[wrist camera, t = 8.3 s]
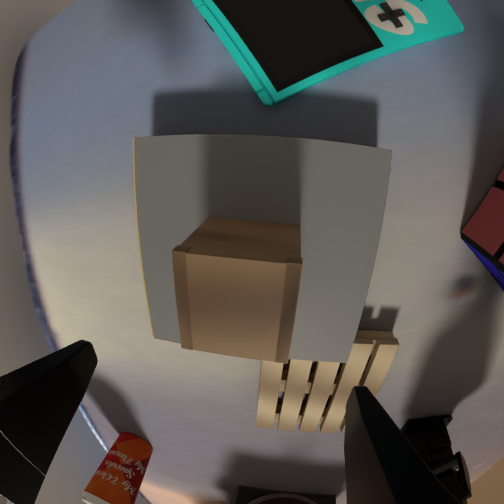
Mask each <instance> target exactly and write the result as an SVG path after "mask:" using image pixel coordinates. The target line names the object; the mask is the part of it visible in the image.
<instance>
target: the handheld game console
mask: <svg viewBox="0 0 504 504" xmlns="http://www.w3.org/2000/svg"><path fill="white" fill-rule="evenodd" d="M192 2H193V3H194V5H195V6H196V7H197V8H198V10H199V11H200V13H201V14H202V15H203V16H204V18H205V21H206V22H207V24H208V25H209V27H210V28H211V29H212V30H213V31H215V33H216V34H217V36H218V37H219V38H220V40H221V41H222V43H223V44H224V45H225V47H226V48H227V50H228V51H229V53H230V54H231V55H232V57H233V58H234V60H235V61H236V63H237V64H238V66H239V67H240V69H241V70H242V72H243V73H244V75H245V76H246V78H247V79H248V81H249V83H250V84H251V86H252V87H253V89H254V90H255V92H256V93H257V95H258V97H259V98H260V100H261V102H262V103H263V104H264V105H266V106H273V105H275V104H277V103H279V102H281V101H283V100H285V99H287V98H289V97H291V96H293V95H295V94H297V93H299V92H301V91H303V90H305V89H307V88H309V87H311V86H313V85H315V84H317V83H320V82H322V81H324V80H326V79H328V78H331V77H333V76H335V75H338V74H340V73H342V72H345V71H347V70H349V69H352V68H354V67H357V66H359V65H362V64H364V63H367V62H369V61H372V60H375V59H377V58H380V57H383V56H385V55H388V54H391V53H394V52H397V51H400V50H403V49H406V48H409V47H412V46H415V45H419V44H422V43H425V42H429V41H432V40H436V39H440V38H443V37H447V36H451V35H455V34H459V33H461V32H463V31H464V26H463V24H462V23H461V21H460V20H459V18H458V16H457V15H456V13H455V12H454V10H453V9H452V7H451V6H450V4H449V3H448V2H447V0H192Z"/></svg>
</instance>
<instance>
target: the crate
mask: <svg viewBox="0 0 504 504" xmlns="http://www.w3.org/2000/svg"><path fill="white" fill-rule="evenodd" d="M172 260H173V273H174V285H175V295H176V305H177V315H178V323H179V332H180V340H181V347H182V348H184V349H189V350H199V351H204V352H210V353H216V354H222V355H229V356H235V357H242V358H249V359H257V360H265V361H274V362H276V363H286V364H288V359H289V353H290V347H291V341H292V335H293V328H294V322H295V315H296V309H297V302H298V295H299V288H300V280H301V273H302V265H303V258H301V225H294V224H284V223H273V222H262V221H250V220H238V219H226V218H213V217H208V218H207V219H206V220H205V221H204V222H203V223H202V224H201V225H200V226H199V227H198V228H197V229H196V230H195V231H194V232H193V233H192V234H191V235H190V236H189V237H188V238H187V239H186V240H184V241H183V242H182V243H181V244H180V245H177V246H176V247H175V248H174V249H173V250H172Z"/></svg>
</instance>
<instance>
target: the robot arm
mask: <svg viewBox="0 0 504 504" xmlns="http://www.w3.org/2000/svg"><path fill="white" fill-rule="evenodd" d="M96 365H97V356H96V353H95V351H94V348H93V345H92V343H91V342H88V341H85V340H79V341H77V342H75V343H73V344H71V345H69V346H67V347H64V348H62V349H60V350H58V351H56V352H54V353H51V354H49V355H47V356H46V357H43V358H41V359H39V360H36V361H34V362H32V363H30V364H27V365H26V366H23V367H21V368H19V369H17V370H14V371H12V372H10V373H8V374H6V375H3V376H1V377H0V504H6V502H7V500H9V501H10V502H12V503H13V504H34V503H35V500H36V498H37V495H38V493H39V491H40V488H41V486H42V483H43V481H44V478H45V475H46V474H47V471H48V469H49V466H50V464H51V462H52V460H53V458H54V455H55V453H56V451H57V449H58V447H59V445H60V443H61V441H62V438H63V436H64V434H65V432H66V430H67V428H68V426H69V424H70V422H71V420H72V418H73V416H74V414H75V412H76V410H77V408H78V406H79V405H80V403H81V401H82V399H83V397H84V394H85V392H86V390H87V387H88V385H89V382H90V380H91V377H92V375H93V373H94V370H95V368H96ZM452 419H453V418H452V415H448V416H441V417H434V418H426V419H417V420H410V421H408V422H407V423H406V425H405V426H404V428H403V429H402V430H401V431H400V429H399V428H398V427H397V425H396V424H395V423H394V421H393V420H392V419H391V418H390V416H389V415H388V414H387V412H386V411H385V410H384V408H383V407H382V406H381V404H380V403H379V402H378V400H377V399H376V398H375V397H374V395H373V394H372V393H371V391H370V390H369V389H368V387H366V386H354V387H353V388H352V390H351V393H350V395H349V398H348V400H347V403H346V415H345V440H344V455H345V471H346V491H347V504H467V499H468V498H470V497H472V494H471V485H470V478H469V472H468V469H467V465H466V462H465V459H464V458H463V456H462V454H461V452H460V451H459V452H457V453H456V454H455V455H453V452H452V448H451V440H450V437H449V434H448V431H447V425H448V424H449V423H450V422H451V420H452ZM458 468H459V470H458V471H456V469H458Z"/></svg>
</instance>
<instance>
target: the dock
mask: <svg viewBox="0 0 504 504" xmlns="http://www.w3.org/2000/svg"><path fill="white" fill-rule="evenodd" d="M391 155H392V150H388V149H382V148H376V147H370V146H364V145H357V144H350V143H343V142H335V141H326V140H317V139H307V138H295V137H282V136H265V135H238V134H190V135H163V136H147V137H134V138H133V167H134V190H135V206H136V219H137V230H138V240H139V250H140V258H141V266H142V274H143V281H144V288H145V294H146V301H147V307H148V312H149V318H150V324H151V329H152V334H153V336H154V338H156V339H161V340H166V341H170V342H175V343H181V340H180V332H179V323H178V315H177V305H176V295H175V285H174V273H173V260H172V250H173V249H174V248H175V247H176V246H177V245H180V244H181V243H182V242H183V241H184V240H186V239H187V238H188V237H189V236H190V235H191V234H192V233H193V232H194V231H195V230H196V229H197V228H198V227H199V226H200V225H201V224H202V223H203V222H204V221H205V220H206V219H207V218H208V217H213V218H226V219H238V220H250V221H262V222H273V223H284V224H294V225H301V258H303V265H302V273H301V280H300V288H299V295H298V302H297V309H296V315H295V322H294V328H293V335H292V341H291V347H290V353H289V359H294V360H305V361H319V362H335V363H347V361H348V358H349V355H350V352H351V349H352V346H353V343H354V339H355V336H356V333H357V329H358V326H359V322H360V319H361V315H362V312H363V308H364V304H365V300H366V296H367V293H368V288H369V284H370V280H371V276H372V272H373V267H374V263H375V258H376V253H377V248H378V243H379V238H380V233H381V227H382V222H383V216H384V209H385V203H386V196H387V189H388V182H389V173H390V165H391Z"/></svg>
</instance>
